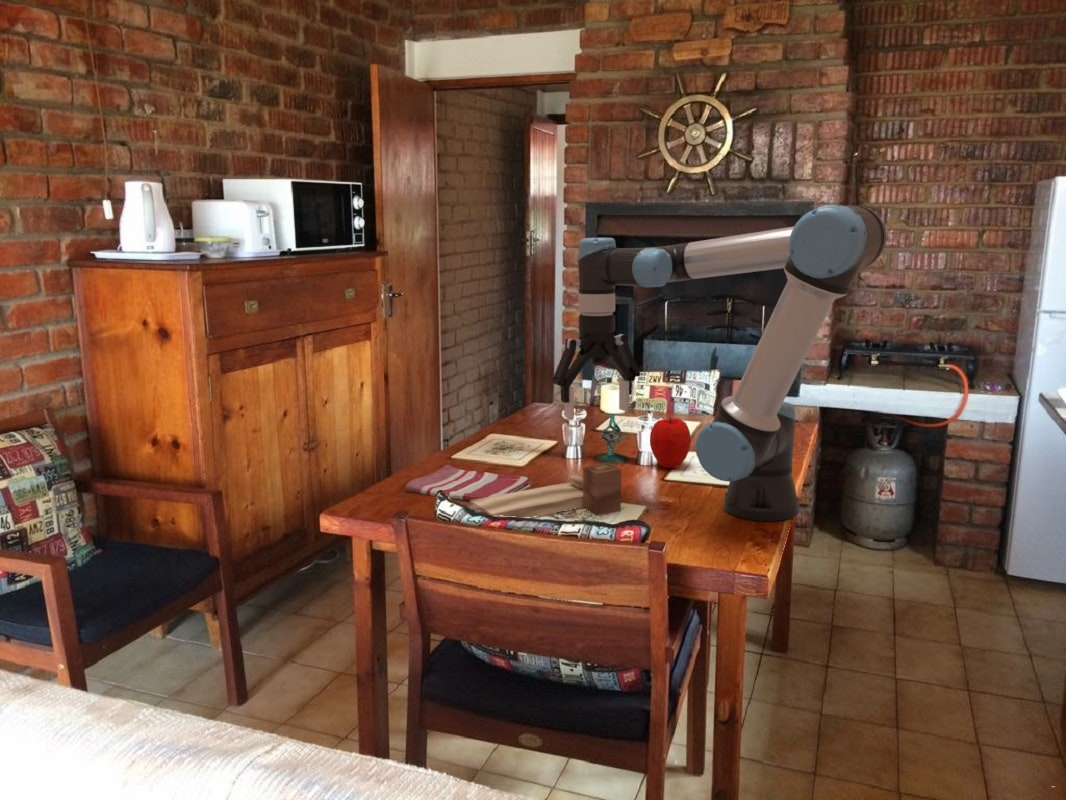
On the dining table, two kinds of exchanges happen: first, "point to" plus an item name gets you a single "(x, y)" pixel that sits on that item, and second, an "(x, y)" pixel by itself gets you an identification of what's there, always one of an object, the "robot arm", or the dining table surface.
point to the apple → (670, 442)
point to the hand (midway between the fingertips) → (597, 413)
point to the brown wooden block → (600, 488)
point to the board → (533, 501)
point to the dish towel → (467, 484)
